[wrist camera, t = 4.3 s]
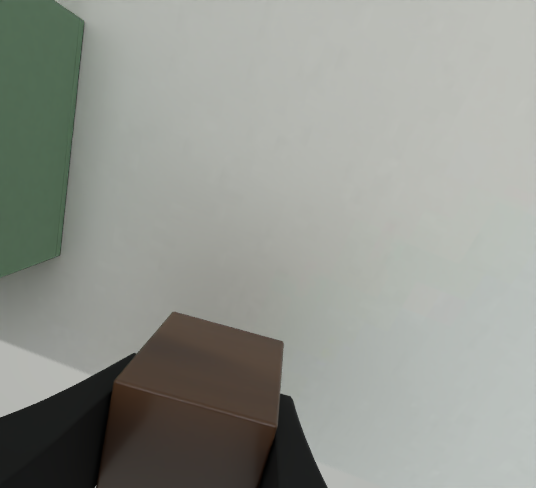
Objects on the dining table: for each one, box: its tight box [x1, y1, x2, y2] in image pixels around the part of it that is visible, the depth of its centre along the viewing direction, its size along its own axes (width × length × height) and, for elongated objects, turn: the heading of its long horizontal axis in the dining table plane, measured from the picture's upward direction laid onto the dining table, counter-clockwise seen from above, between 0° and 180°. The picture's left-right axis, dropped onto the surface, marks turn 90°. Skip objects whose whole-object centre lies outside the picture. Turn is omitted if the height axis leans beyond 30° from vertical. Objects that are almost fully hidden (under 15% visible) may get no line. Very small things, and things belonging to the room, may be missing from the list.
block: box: [96, 312, 284, 488], centre depth 10 cm, size 4×4×4 cm
